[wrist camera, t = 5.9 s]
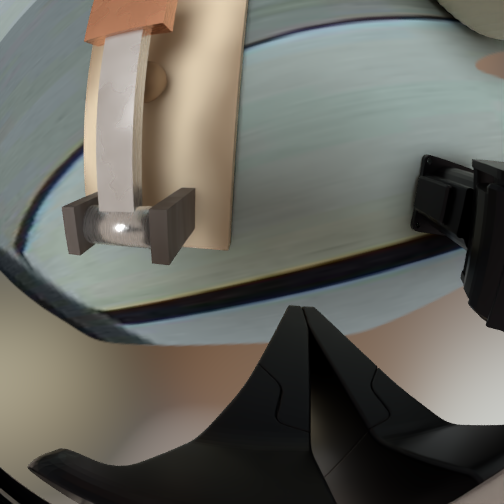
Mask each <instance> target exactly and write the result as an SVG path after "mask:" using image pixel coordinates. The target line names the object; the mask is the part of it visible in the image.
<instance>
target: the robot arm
mask: <svg viewBox="0 0 504 504" xmlns="http://www.w3.org/2000/svg"><path fill="white" fill-rule="evenodd" d="M428 158H429V160H430V161H429V163H428V162H427V160H428ZM472 167H473V168H474V170H472V169H469V168H466V167H464V166H461V165H458V164H455V163H453V162H450V161H447V160H444V159H441V158H438V157H435V156H431V155H424V157H423V160H422V167H421V174H420V178H419V181H418V187H417V193H416V198H415V203H414V212H413V217H412V221H411V228H412V229H413V230H415V231H418V232H425V233H431V234H438V235H444V236H447V237H448V238H450V239H451V240H453V241H454V242H456V243H457V244H458V245H460V246H461V247H463V248H464V249H465V250H467V253H466V259H465V264H464V269H463V271H462V273H461V280H462V282H463V284H464V290H465V292H466V294H467V296H468V298H469V301H468V304H469V306H470V307H471V308H472V309H473V310H474V311H475V312H476V313H477V314H478V315H479V316H480V317H481V318H482V319H484V320H485V321H487V322H486V326H487V327H489V328H493V329H497V330H501V331H503V332H504V162H498V161H488V160H477V159H472ZM416 223H418V225H417V226H416V227H415V225H416ZM28 469H29V470H30V471H31V472H32V473H34V474H35V475H36V476H38V477H39V478H40V479H42V480H43V481H44V482H46V483H48V484H49V485H50V486H52V487H53V488H55V489H56V490H58V491H59V492H61V493H62V494H64V495H66V496H67V497H69V498H71V499H72V500H74V501H76V502H77V503H79V504H504V425H457V424H452V423H449V422H447V421H444V420H443V419H441V418H440V417H438V416H437V415H435V414H434V413H433V412H431V411H430V410H429V409H427V408H426V407H425V406H423V405H422V404H421V403H419V402H418V401H417V400H416V399H414V398H413V397H412V396H410V395H409V394H408V393H407V392H405V391H404V390H403V389H402V388H401V387H399V386H398V385H397V384H396V383H395V382H394V381H392V380H391V379H390V378H389V377H388V376H387V375H386V374H385V373H384V372H383V371H381V369H379V368H377V366H376V365H375V364H374V363H373V362H372V361H371V360H370V359H369V358H368V357H367V356H366V355H364V354H363V353H362V352H361V351H360V350H359V349H358V348H357V347H356V346H355V345H354V344H353V343H352V342H351V341H350V340H348V338H346V337H345V336H344V335H343V334H342V333H341V332H340V331H339V330H338V329H337V328H336V327H335V326H334V325H333V324H332V323H331V322H330V321H328V320H327V319H326V318H325V317H324V316H323V315H322V314H321V313H320V312H319V311H318V310H317V309H316V308H314V307H305V306H304V307H301V306H293V305H289V306H288V308H287V310H286V312H285V314H284V316H283V317H282V319H281V321H280V323H279V325H278V327H277V329H276V331H275V333H274V335H273V336H272V338H271V340H270V342H269V344H268V346H267V348H266V350H265V351H264V353H263V355H262V357H261V359H260V360H259V362H258V364H257V366H256V367H255V369H254V371H253V373H252V374H251V376H250V378H249V379H248V381H247V382H246V384H245V385H244V387H243V388H242V389H241V390H240V392H239V393H238V394H237V396H236V397H235V398H234V399H233V400H232V402H231V403H230V404H229V405H228V406H227V407H226V408H225V409H224V410H223V412H222V413H221V414H220V415H219V416H218V417H217V418H216V420H214V421H213V422H212V424H211V425H210V426H209V427H208V428H207V429H206V430H205V431H204V432H203V433H201V434H200V435H199V436H198V437H197V438H195V439H194V440H192V441H191V442H189V443H187V444H184V445H182V446H180V447H178V448H175V449H173V450H171V451H168V452H166V453H163V454H161V455H158V456H156V457H153V458H150V459H148V460H145V461H143V462H140V463H137V464H132V465H128V466H114V465H107V464H103V463H100V462H97V461H95V460H92V459H90V458H88V457H85V456H83V455H81V454H79V453H76V452H74V451H71V450H68V449H62V448H60V449H57V450H55V451H52V452H49V453H46V454H43V455H41V456H39V457H37V458H36V459H34V460H33V461H32V462H31V463H30V464H29V465H28ZM0 504H51V503H49V502H48V501H46V500H45V499H43V498H41V497H40V496H38V495H37V494H35V493H34V492H32V491H31V490H30V489H28V488H27V487H25V486H24V485H22V484H21V483H20V482H18V481H17V480H16V479H14V478H13V477H12V476H11V475H9V474H8V473H7V472H6V471H4V470H3V469H2V468H1V467H0Z"/></svg>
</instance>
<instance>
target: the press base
mask: <svg viewBox="0 0 504 504" xmlns="http://www.w3.org/2000/svg"><path fill="white" fill-rule="evenodd" d="M248 1H249V0H178V2H177V8H176V13H175V19H174V25H173V32H169V33H162V34H155V35H151V39H150V46H149V53H148V61H147V69H146V79H145V90H144V103H143V121H142V204H143V206H153V207H151V208H150V209H149V227H150V243H151V256H152V263H154V264H163V265H170V263H171V262H172V260H173V259H174V258H175V256H176V255H177V253H178V252H179V250H180V249H181V248H182V247H191V248H203V249H215V250H227V251H228V250H229V246H230V243H231V222H232V203H233V185H234V168H235V152H236V138H237V123H238V110H239V97H240V85H241V73H242V61H243V50H244V40H245V29H246V19H247V10H248ZM103 50H104V45H103V46H99V47H98V46H95V45H93V49H92V54H91V61H90V67H89V75H88V83H87V93H86V105H85V122H84V174H85V192H86V197H83V198H81V199H79V200H77V201H74V202H72V203H70V204H68V205H66V206H63V207H62V212H63V220H64V227H65V234H66V240H67V246H68V251H69V254H74V255H82V254H83V253H84V252H85V251H87V250H88V249H89V248H91V247H92V246H93V245H95V244H94V243H89V242H88V241H87V240H86V238H85V236H84V233H83V219H84V215H85V213H86V211H87V209H88V208H89V207H90V206H92V205H99V203H98V189H97V169H96V122H97V103H98V90H99V80H100V71H101V63H102V56H103Z"/></svg>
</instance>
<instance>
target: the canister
mask: <svg viewBox="0 0 504 504" xmlns="http://www.w3.org/2000/svg"><path fill="white" fill-rule="evenodd" d="M437 1H438V2H439V4H440V5H442V6H443V7H444V8H445V9H446V10H447V12H449V13H451V14H452V15H453V16H454V18H456V19H458V20H459V21H460V22H461V23H462V24H464V25H466V26H468V27H469V28H470V29H471V30H474V31H476V32H477V33H479V34H481V35H484V36H486V37H489V38H494V39H499V40H504V0H437Z"/></svg>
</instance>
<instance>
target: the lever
mask: <svg viewBox="0 0 504 504" xmlns="http://www.w3.org/2000/svg"><path fill="white" fill-rule="evenodd" d="M177 2H178V0H94V2H93V6H92V9H91V13H90V17H89V21H88V26H87V30H86V35H85V40H84V42H87V43H90V44H92V45H95V46H98V47H99V46H103V45H104V50H103V56H102V63H101V71H100V80H99V90H98V103H97V122H96V169H97V189H98V203H99V205H92V206H90V207H89V208H88V209H87V211H86V213H85V215H84V219H83V233H84V236H85V238H86V240H87V241H88V242H89V243H94V244H105V245H117V246H128V247H139V248H150V249H151V243H150V227H149V209H150V208H151V207H153V206H143V204H142V121H143V103H144V90H145V79H146V69H147V61H148V53H149V46H150V39H151V35H155V34H162V33H169V32H173V25H174V19H175V13H176V8H177Z"/></svg>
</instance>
